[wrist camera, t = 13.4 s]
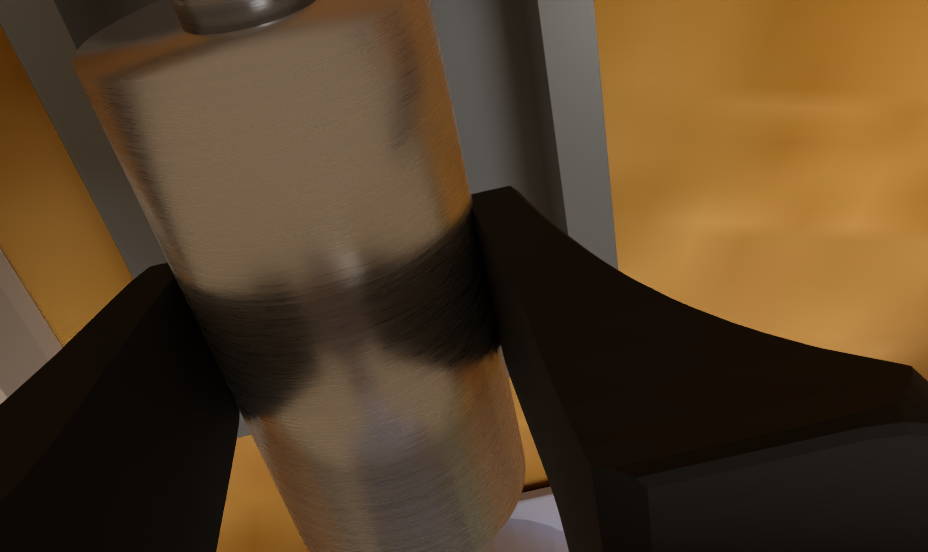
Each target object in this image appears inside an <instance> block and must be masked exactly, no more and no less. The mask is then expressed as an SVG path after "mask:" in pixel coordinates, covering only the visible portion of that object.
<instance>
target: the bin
mask: <svg viewBox="0 0 928 552" xmlns="http://www.w3.org/2000/svg"><path fill="white" fill-rule="evenodd" d="M158 1H161V0H0V24H1V26H2V28H3V30H4V32H5V33H6V35H7V37H8V39H9V41H10V43H11V45H12V47H13V49H14V51H15V53H16V54H17V56H18V58H19V60H20V62H21V64H22V66H23V68H24V70H25V72H26V74H27V76H28V77H29V79H30V81H31V83H32V85H33V87H34V89H35V91H36V93H37V95H38V97H39V98H40V100H41V102H42V104H43V106H44V108H45V110H46V112H47V114H48V116H49V118H50V119H51V121H52V123H53V125H54V127H55V129H56V131H57V133H58V135H59V137H60V139H61V140H62V142H63V144H64V146H65V148H66V150H67V152H68V154H69V156H70V158H71V160H72V161H73V163H74V165H75V167H76V169H77V171H78V173H79V175H80V177H81V179H82V181H83V183H84V184H85V186H86V188H87V190H88V192H89V194H90V196H91V198H92V200H93V202H94V204H95V205H96V207H97V209H98V211H99V213H100V215H101V217H102V219H103V221H104V223H105V225H106V226H107V228H108V230H109V232H110V234H111V236H112V238H113V240H114V242H115V244H116V246H117V247H118V249H119V251H120V253H121V255H122V257H123V259H124V261H125V263H126V265H127V267H128V268H129V270H130V272H131V274H132V276H133V278H134V279H135V278H136V277H137V276H138V275H139V274H141V273H142V272H143V271H145V270H146V269H147V268H149V267H150V266H154V265H158V264H163V263H167V259H166V257H165V255H164V253H163V251H162V249H161V247H160V245H159V243H158V241H157V239H156V237H155V235H154V233H153V231H152V228H151V226H150V224H149V222H148V220H147V218H146V216H145V214H144V212H143V210H142V208H141V206H140V204H139V202H138V200H137V198H136V195H135V193H134V191H133V189H132V187H131V185H130V183H129V181H128V179H127V177H126V175H125V173H124V171H123V169H122V167H121V164H120V162H119V160H118V158H117V156H116V154H115V152H114V150H113V148H112V146H111V144H110V142H109V140H108V138H107V136H106V133H105V131H104V129H103V127H102V125H101V123H100V121H99V119H98V117H97V115H96V113H95V111H94V109H93V107H92V105H91V102H90V100H89V98H88V96H87V94H86V92H85V90H84V88H83V86H82V84H81V82H80V80H79V78H78V76H77V74H76V72H75V69H74V67H73V65H72V58H73V56H74V54H75V52H76V51H77V50H78V48H79V47H80V46H81V45H82V44H83V43H84V42H85V41H87V40H88V39H89V38H90V37H91V36H93V35H94V34H96V33H97V32H99V31H100V30H102V29H103V28H105V27H107V26H108V25H110V24H112V23H113V22H115V21H117V20H119V19H121V18H123V17H125V16H127V15H129V14H131V13H133V12H135V11H137V10H140V9H142V8H144V7H146V6H149V5H151V4H153V3H156V2H158ZM432 5H433V10H434V15H435V20H436V24H437V29H438V34H439V39H440V44H441V49H442V54H443V59H444V64H445V69H446V73H447V78H448V83H449V88H450V93H451V98H452V103H453V108H454V113H455V118H456V122H457V127H458V132H459V137H460V142H461V147H462V152H463V157H464V162H465V167H466V171H467V176H468V181H469V186H470V191H471V194H474V193H479V192H483V191H488V190H492V189H497V188H501V187H505V186H512V187H513V188H515V189H516V190H518V191H519V192H520V193H521V194H522V195H523V196H524V197H525V198H526V199H527V200H528V201H529V202H530V203H531V204H532V205H533V206H534V207H535V208H536V209H537V210H538V211H540V212H541V213H542V214H543V215H544V216H545V217H546V218H548V219H549V220H550V221H551V222H552V223H553V224H555V225H556V226H557V227H558V228H560V229H561V230H562V231H563V232H565V233H566V234H567V235H569V236H570V237H571V238H572V239H574V240H575V241H576V242H578V243H579V244H580V245H582V246H583V247H584V248H586V249H587V250H588V251H590V252H591V253H593V254H594V255H596V256H597V257H598V258H600V259H601V260H603V261H605V262H606V263H608V264H609V265H611V266H612V267H614V268H615V269H617V270H618V264H617V253H616V242H615V231H614V220H613V209H612V198H611V187H610V176H609V165H608V154H607V143H606V132H605V121H604V110H603V99H602V87H601V76H600V65H599V54H598V43H597V32H596V21H595V10H594V0H432ZM507 372H508V369H507ZM508 377H510V375H509V372H508ZM246 435H251V433H250V431H249V429H248V427H247V425H246V423H245V421H244V419H243V416H242V414H241V412H240V419H239V428H238V434H237V437H242V436H246Z"/></svg>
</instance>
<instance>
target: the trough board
mask: <svg viewBox="0 0 928 552" xmlns="http://www.w3.org/2000/svg"><path fill="white" fill-rule="evenodd" d="M61 349H62V346H61V344H60V343H59V341H58V340H57V338H56V337H55V335H54V333H53V332H52V330H51V329H50V327H49V325H48V324H47V322H46V321H45V319H44V317H43V316H42V314H41V313H40V311H39V309H38V308H37V306H36V305H35V303H34V301H33V300H32V298H31V297H30V295H29V293H28V292H27V290H26V289H25V287H24V285H23V284H22V282H21V281H20V279H19V277H18V276H17V274H16V273H15V271H14V269H13V268H12V266H11V265H10V263H9V261H8V260H7V258H6V257H5V255H4V253H3V252H2V250H1V249H0V404H1V403H2V402H4V401H5V400H6V399H7V398H8V397H9V396H10V395H11V394H12V393H14V392H15V391H16V390H17V389H18V388H19V387H20V386H21V385H22V384H23V383H25V382H26V381H27V380H28V379H29V378H30V377H31V376H32V375H33V374H35V373H36V372H37V371H38V370H39V369H40V368H41V367H42V366H43V365H45V364H46V363H47V362H48V361H49V360H50V359H51V358H52V357H53V356H55V355H56V354H57V353H58V352H59V351H60V350H61Z"/></svg>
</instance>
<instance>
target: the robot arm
mask: <svg viewBox="0 0 928 552" xmlns="http://www.w3.org/2000/svg"><path fill="white" fill-rule="evenodd" d="M471 196H472V209H473V214H474V219H475V224H476V228H477V233H478V238H479V243H480V248H481V252H482V257H483V262H484V267H485V272H486V277H487V281H488V286H489V291H490V296H491V301H492V305H493V310H494V315H495V320H496V325H497V330H498V334H499V339H500V344H501V348H502V352H503V356H504V360H505V364H506V367H507V369H508V372H509V375H510V378H511V380H512V383H513V386H514V389H515V391H516V394H517V397H518V399H519V402H520V405H521V408H522V410H523V413H524V416H525V418H526V421H527V424H528V426H529V429H530V432H531V435H532V437H533V440H534V443H535V445H536V448H537V451H538V453H539V456H540V459H541V461H542V464H543V467H544V470H545V472H546V475H547V478H548V480H549V483H550V487H546V488H541V489H537V490H532V491H528V492H523V493H521V496H520V498H519V501H518V503H517V506H516V508H515V509H514V511H513V513H512V515H511V516H510V518H509V520H508V521H507V522H506V523H505V525H504V526H503V527H502V529H501V530H500V531H499V532H498V533H497V534H496V535H495V536H494V537H493V538H492V539H491V540H490V541H489V542H488V543H487V544H486V545H485V546H484V547H482V548H481V549H480V550H479V551H477V552H928V381H927V380H926V379H924V378H923V377H922V376H921V375H920V374H919V373H918V372H917V371H916V370H915V369H914V368H913V367H912V366H909V365H904V364H899V363H894V362H889V361H883V360H878V359H873V358H868V357H863V356H858V355H853V354H848V353H843V352H838V351H833V350H827V349H822V348H818V347H814V346H810V345H806V344H803V343H799V342H795V341H792V340H788V339H784V338H781V337H777V336H774V335H770V334H766V333H763V332H760V331H757V330H754V329H750V328H747V327H744V326H741V325H738V324H735V323H732V322H729V321H727V320H724V319H721V318H719V317H716V316H714V315H711V314H708V313H706V312H703V311H700V310H698V309H695V308H693V307H690V306H688V305H686V304H683V303H681V302H679V301H676V300H674V299H672V298H670V297H668V296H666V295H664V294H662V293H660V292H658V291H656V290H654V289H652V288H650V287H648V286H646V285H644V284H642V283H640V282H638V281H636V280H634V279H632V278H630V277H628V276H627V275H625V274H623V273H622V272H620V271H619V270H617V269H615V268H614V267H612V266H611V265H609V264H608V263H606V262H605V261H603V260H601V259H600V258H598V257H597V256H596V255H594V254H593V253H591V252H590V251H588V250H587V249H586V248H584V247H583V246H582V245H580V244H579V243H578V242H576V241H575V240H574V239H572V238H571V237H570V236H569V235H567V234H566V233H565V232H563V231H562V230H561V229H560V228H558V227H557V226H556V225H555V224H553V223H552V222H551V221H550V220H549V219H548V218H546V217H545V216H544V215H543V214H542V213H541V212H540V211H538V210H537V209H536V208H535V207H534V206H533V205H532V204H531V203H530V202H529V201H528V200H527V199H526V198H525V197H524V196H523V195H522V194H521V193H520V192H519V191H518V190H516V189H515V188H513V187H512V186H505V187H501V188H497V189H492V190H488V191H483V192H479V193H474V194H471ZM239 419H240V410H239V408H238V406H237V404H236V402H235V400H234V398H233V396H232V394H231V392H230V390H229V388H228V385H227V383H226V381H225V379H224V377H223V375H222V373H221V371H220V369H219V367H218V365H217V363H216V361H215V359H214V357H213V354H212V352H211V350H210V348H209V346H208V344H207V342H206V340H205V338H204V336H203V334H202V332H201V330H200V328H199V326H198V324H197V321H196V319H195V317H194V315H193V313H192V311H191V309H190V307H189V305H188V303H187V301H186V299H185V297H184V295H183V293H182V290H181V288H180V286H179V284H178V282H177V280H176V278H175V276H174V274H173V272H172V270H171V268H170V266H169V264H168V262H167V263H163V264H158V265H154V266H150V267H149V268H147V269H146V270H145V271H143V272H142V273H141V274H139V275H138V276H137V277H136V278H135V279H134V280H133V281H131V282H130V283H129V284H128V285H127V286H126V287H125V288H124V289H123V290H122V291H121V292H120V293H119V294H118V295H116V296H115V297H114V298H113V299H112V300H111V301H110V302H109V303H108V304H107V305H106V306H105V307H104V308H103V309H102V310H101V311H100V312H99V313H98V314H97V315H96V316H95V317H94V318H93V319H92V320H91V321H90V322H89V323H88V324H87V325H86V326H85V327H84V328H83V329H82V330H81V331H79V332H78V333H77V334H76V335H75V336H74V337H73V338H72V339H71V340H70V341H69V342H68V343H67V344H66V345H65V346H64V347H63V348H62V349H61V350H60V351H59V352H58V353H57V354H56V355H55V356H53V357H52V358H51V359H50V360H49V361H48V362H47V363H46V364H45V365H43V366H42V367H41V368H40V369H39V370H38V371H37V372H36V373H35V374H33V375H32V376H31V377H30V378H29V379H28V380H27V381H26V382H25V383H23V384H22V385H21V386H20V387H19V388H18V389H17V390H16V391H15V392H14V393H12V394H11V395H10V396H9V397H8V398H7V399H6V400H5V401H4V402H2V403H1V404H0V552H216V549H217V544H218V538H219V533H220V527H221V522H222V517H223V511H224V506H225V501H226V495H227V490H228V484H229V479H230V474H231V468H232V463H233V457H234V451H235V446H236V440H237V434H238V428H239Z"/></svg>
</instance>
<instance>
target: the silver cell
mask: <svg viewBox="0 0 928 552" xmlns="http://www.w3.org/2000/svg"><path fill="white" fill-rule="evenodd" d="M72 65H73V67H74V69H75V72H76V74H77V76H78V78H79V80H80V82H81V84H82V86H83V88H84V90H85V92H86V94H87V96H88V98H89V100H90V102H91V105H92V107H93V109H94V111H95V113H96V115H97V117H98V119H99V121H100V123H101V125H102V127H103V129H104V131H105V133H106V136H107V138H108V140H109V142H110V144H111V146H112V148H113V150H114V152H115V154H116V156H117V158H118V160H119V162H120V164H121V167H122V169H123V171H124V173H125V175H126V177H127V179H128V181H129V183H130V185H131V187H132V189H133V191H134V193H135V195H136V198H137V200H138V202H139V204H140V206H141V208H142V210H143V212H144V214H145V216H146V218H147V220H148V222H149V224H150V226H151V228H152V231H153V233H154V235H155V237H156V239H157V241H158V243H159V245H160V247H161V249H162V251H163V253H164V255H165V257H166V259H167V262H168V264H169V266H170V268H171V270H172V272H173V274H174V276H175V278H176V280H177V282H178V284H179V286H180V288H181V290H182V293H183V295H184V297H185V299H186V301H187V303H188V305H189V307H190V309H191V311H192V313H193V315H194V317H195V319H196V321H197V324H198V326H199V328H200V330H201V332H202V334H203V336H204V338H205V340H206V342H207V344H208V346H209V348H210V350H211V352H212V354H213V357H214V359H215V361H216V363H217V365H218V367H219V369H220V371H221V373H222V375H223V377H224V379H225V381H226V383H227V385H228V388H229V390H230V392H231V394H232V396H233V398H234V400H235V402H236V404H237V406H238V408H239V410H240V412H241V414H242V416H243V419H244V421H245V423H246V425H247V427H248V429H249V431H250V433H251V435H252V437H253V439H254V441H255V443H256V445H257V447H258V450H259V452H260V454H261V456H262V458H263V460H264V462H265V464H266V466H267V468H268V470H269V472H270V474H271V476H272V478H273V481H274V483H275V485H276V487H277V489H278V491H279V493H280V495H281V497H282V499H283V501H284V503H285V505H286V507H287V509H288V511H289V514H290V516H291V518H292V520H293V522H294V524H295V526H296V528H297V530H298V532H299V534H300V536H301V538H302V540H303V542H304V544H305V545H306V547H307V548H308V549H309V551H310V552H477V551H479V550H480V549H481V548H482V547H484V546H485V545H486V544H487V543H488V542H489V541H490V540H491V539H492V538H493V537H494V536H495V535H496V534H497V533H498V532H499V531H500V530H501V529H502V527H503V526H504V525H505V523H506V522H507V521H508V520H509V518H510V516H511V515H512V513H513V511H514V509H515V508H516V506H517V503H518V501H519V498H520V496H521V493H522V489H523V485H524V481H525V470H526V466H525V456H524V451H523V446H522V441H521V436H520V431H519V426H518V421H517V416H516V412H515V407H514V402H513V397H512V392H511V387H510V382H509V377H508V372H507V367H506V364H505V360H504V356H503V352H502V348H501V344H500V339H499V334H498V330H497V325H496V320H495V315H494V310H493V305H492V301H491V296H490V291H489V286H488V281H487V277H486V272H485V267H484V262H483V257H482V252H481V248H480V243H479V238H478V233H477V228H476V224H475V219H474V214H473V209H472V196H471V191H470V186H469V181H468V176H467V171H466V167H465V162H464V157H463V152H462V147H461V142H460V137H459V132H458V127H457V122H456V118H455V113H454V108H453V103H452V98H451V93H450V88H449V83H448V78H447V73H446V69H445V64H444V59H443V54H442V49H441V44H440V39H439V34H438V29H437V24H436V20H435V15H434V10H433V5H432V0H161V1H158V2H156V3H153V4H151V5H149V6H146V7H144V8H142V9H140V10H137V11H135V12H133V13H131V14H129V15H127V16H125V17H123V18H121V19H119V20H117V21H115V22H113V23H112V24H110V25H108V26H107V27H105V28H103V29H102V30H100V31H99V32H97V33H96V34H94V35H93V36H91V37H90V38H89V39H88V40H87V41H85V42H84V43H83V44H82V45H81V46H80V47H79V48H78V50H77V51H76V52H75V54H74V56H73V58H72Z"/></svg>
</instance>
